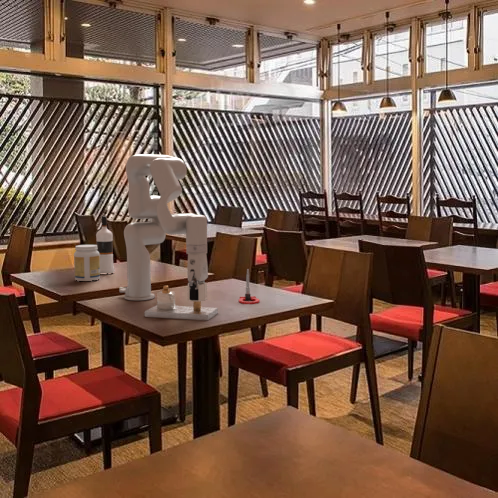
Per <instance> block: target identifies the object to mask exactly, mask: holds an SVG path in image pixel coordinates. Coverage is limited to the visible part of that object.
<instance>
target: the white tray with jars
mask: <svg viewBox="0 0 498 498" xmlns="http://www.w3.org/2000/svg"><path fill="white" fill-rule="evenodd" d="M192 302H193V303H192V306H188V305H187V306H185V305H176V292H175V291H172V290H170V288H169V285H163V288H162V289H161V291H157V292H156V305H154V306H152V307H150V308H148V309H146V310H145V311H144V317H146V318H162V319H178V320H195V321H196V320H197V321H209V320H211V319H213V318H214V317H215V316H217V315H218V314H219V309H218V308H219V307H210V306H209V307H208V306H207V307H205V306H202V301H200V302H194V301H192Z"/></svg>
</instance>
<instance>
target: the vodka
mask: <svg viewBox="0 0 498 498" xmlns="http://www.w3.org/2000/svg"><path fill="white" fill-rule="evenodd" d="M107 218H108V217H107V215H101V229H99V230H97V232H96V234H95V236H96V237H95V238H96V245H97V248H98V249H97V251H98V252H99V254H100V255H99V256H100V273H113V272H114V273H115V267H114V254H113V253H114V252H113V249H114V247H113V241H114V239H113V238H114V237H113V236H114V235H113V232H112V231H111V230H110V229H108V225H107V224H108V223H107V222H108V221H107ZM114 273H113V274H114Z"/></svg>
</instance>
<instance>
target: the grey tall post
mask: <svg viewBox="0 0 498 498" xmlns="http://www.w3.org/2000/svg"><path fill="white" fill-rule="evenodd" d="M245 280H246V282H245V283H246V284H245V285H246V287H245V293H244V296H239V299H238V303H240V304H243V305H253V304H254V305H256V304H258V303H260V299H259V298H257V296H256V295H255V296H253V295H252V294H251V292H250V291H251V287H250V270H249V268H247V269H246V279H245ZM251 295H252V296H251Z"/></svg>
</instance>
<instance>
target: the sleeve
mask: <svg viewBox="0 0 498 498" xmlns="http://www.w3.org/2000/svg"><path fill="white" fill-rule="evenodd" d="M195 284H196V283H195ZM197 289H198V295H199V299H198V300H190V292H189V282H188V283H187V301H188V302H193V301H194V302H200V301H201V302H206V301H207V300H208V283H207V282H198V288H197Z"/></svg>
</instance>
